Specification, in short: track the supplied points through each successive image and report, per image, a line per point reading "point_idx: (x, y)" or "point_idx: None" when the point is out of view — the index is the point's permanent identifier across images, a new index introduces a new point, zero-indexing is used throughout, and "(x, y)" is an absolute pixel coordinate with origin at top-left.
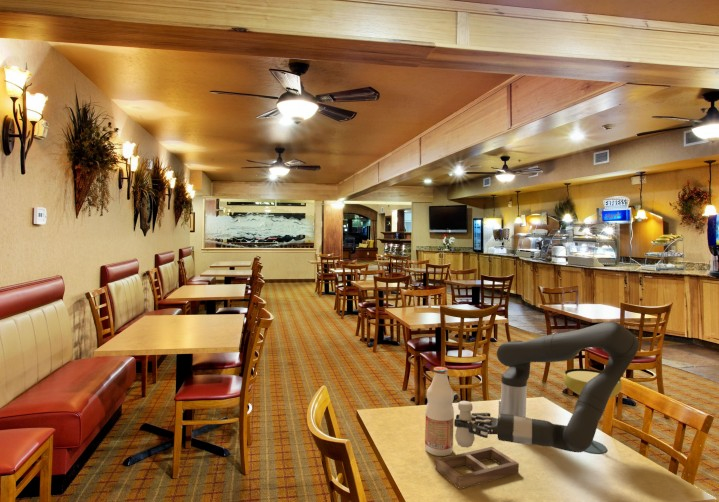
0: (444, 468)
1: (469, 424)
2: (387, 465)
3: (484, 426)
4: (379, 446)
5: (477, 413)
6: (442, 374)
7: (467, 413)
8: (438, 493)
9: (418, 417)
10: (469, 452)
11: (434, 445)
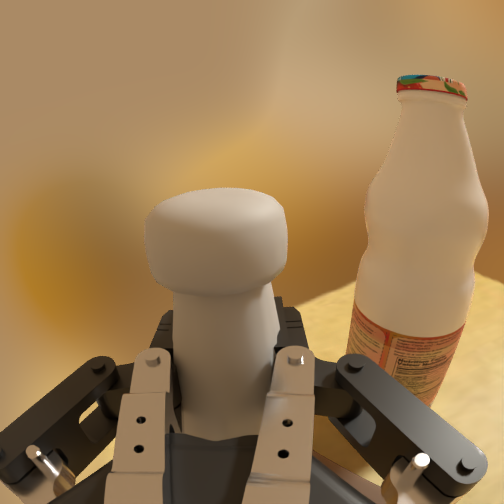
0: None
1: (89, 360)
2: None
3: (89, 477)
4: (305, 305)
5: (390, 387)
6: (410, 93)
7: (175, 297)
8: (109, 444)
9: (493, 311)
10: (377, 490)
11: None
